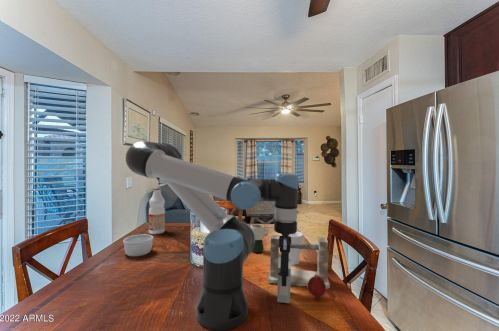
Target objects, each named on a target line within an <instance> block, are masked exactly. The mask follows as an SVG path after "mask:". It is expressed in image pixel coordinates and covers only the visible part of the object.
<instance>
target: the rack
mask: <svg viewBox="0 0 499 331" xmlns="http://www.w3.org/2000/svg"><path fill="white" fill-rule="evenodd" d="M279 236H280V234H271V236H270V257H269V258H270V259H269V261H270V262H269V267H270V268H269V272H268V273H269V274H268V279H267V280H268V281H267V283H268V284H270V283H274V284H273V285H278V263H279V258H280V243H279ZM290 248H295V249H301V250H312V251H317V264H316V268H317V269H316V270H317V271H313V270H303V269H302V270H301V269H292V268H291V280H290V286H291V285H298V286H297V287H301V286H308V282H309V280H310V279H311V278H312V277H314V276H315V274H317V275H318V276H319V277H320V278H322V280H323V281H324V283H325V285H326V288H330V289H331V285H330V284H331V283H330V281H329V279H328V271H329V270H328V265H329V264H328V263H329V242H328V239H327V238H326V237H317V244H315V243H314V244H311V243H302V244H301V243H291V244H290Z"/></svg>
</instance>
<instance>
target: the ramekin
mask: <svg viewBox="0 0 499 331" xmlns="http://www.w3.org/2000/svg"><path fill="white" fill-rule="evenodd" d="M153 241H154V236H153V234H148V233H147V234H133V235H130V236H128V237H125V238H124V239H123V240H122V244H123V247H124V253H125V255H127V256H128V257H141V256H145V255H148V254H149V253H150V252H151V251H152V246H153Z"/></svg>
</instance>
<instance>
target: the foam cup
mask: <svg viewBox="0 0 499 331" xmlns="http://www.w3.org/2000/svg"><path fill="white" fill-rule="evenodd" d="M289 236H291V243H301V244H303V241H304V234H303V233H302V232H301V231H298V230H297V232H296V233H294V234H289ZM301 250H302V249H295V248H290V253H289V259H290V260H291V266H296V265H295V264H297V265H299V264H298V263H300V258H301V253H302V252H301Z"/></svg>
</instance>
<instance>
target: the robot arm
mask: <svg viewBox="0 0 499 331" xmlns="http://www.w3.org/2000/svg"><path fill="white" fill-rule="evenodd" d="M125 163H126V166H127V167H128V169H129V170H131V172H133V173H134V174H136V175H139V176H141V177H142V176H143V177H146V178H148V179H150V180H151V179H152V180H153V179H156V180H157V181H158V182H159V183H160V184H163V185H167V186H168V187H169V188H170V189H171V191H173V192H174V193H175V195H176V196H177V197H178V198H179V199H180V200H181V201H182V203H183V204H185V206H186V207H187V208H188V209H189V211H190V212H192V214H193V215H194V216H195V217H196V218H197V219H198V220H199V221H200V222H201V224H202V225H203V226H204V227H205V229H207V231H209V233H208V234H207V235H206V236H205V238H204V240H203V247H202V255H203V256H202V262H203V263H202V288H201V289H202V290H201V293H200V296H199V299H198V301H197V303H196V304H197V305H196V320H197V322H198V323H199V324H200V325H201V326H202V327H204V328H206V329H208V330H212V331H227V330H231V329H234V328H237V327H239V326H240V325H242V324H243V323H244V322H245V321H246V320H247V318H248V315H249V304H248V303H249V302H248V300H247V297H246V292H245V291H244V287H243V280H244V279H243V278H244V277H243V276H244V275H243V274H244V273H243V272H244V269H243V268H244V263H245V261H246V260H247V258H248V257H249V255H251V254H252V252H253V251H252V250H253V248H254V244H255V234H254V232H253V230H252V228H251V225H249V224H248V223H246V222H243V221H242V222H241V221H240V220H239V219H238V218H237V217H236V216H235V215H233V214H228V213H226V211H225V210H224V209H223V208H222V207H221V206H220V204H218V203H217V201H215V200H214V199H213V197H215V198H217V199H218V198H219V199H222V200H225V201H227V202H230V203H232V204H233V205H234V206H235V207H236V209H237V208H238V209H239V210H243V211H244V210H250V209H252V208H254V207H256V206H257V205H258V204H259V203H260V202H261V201H263V202H274V209H273V211H274V215H273V218H274V219H275V220H273V221H274V223H273V230H274V232H275V233H277V234H279V243H280V247H279V253H280V258H281V266H280V273H278V275H280V290H279V295H285V296H288V278H289V273H288V266H289V253H290V244H291V236H289V234H294V233H296V232H297V231H298V221H297V220H298V214H300V211H299V210H298V201H299V200H298V199H299V197H298V196H299V178H298V175H297V174H296V173H276V174H275V177H274V178H269V179H268V178H254V177H246V178H241V177H237V176H234V175H232V174H228V173H225V172H223V171H222V172H221V171H219V170H215V169H212V168H208V167H206V166H203V165H199V164H197V163H193V162H189V161H186V160H184V159H183V154H182V153H181V151H180V150H179V149H178V147H176V146H174V145H172V144H169V143H164V142H163V143H162V142H161V143H159V142H153V141H147V140H143V141H137V142H135V143H134V144H133V143H132V145H131V146H130V147H129V148H128V149H127V151H126V154H125ZM280 234H281V235H280Z"/></svg>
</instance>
